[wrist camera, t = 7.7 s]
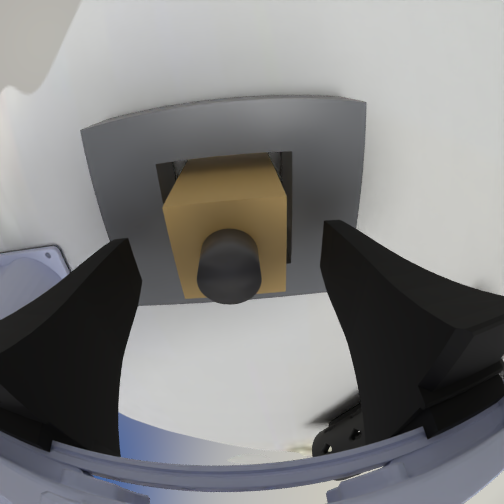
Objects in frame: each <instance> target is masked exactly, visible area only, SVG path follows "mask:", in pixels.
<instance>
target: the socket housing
mask: <svg viewBox="0 0 504 504" xmlns="http://www.w3.org/2000/svg"><path fill="white" fill-rule="evenodd" d="M365 130H366V102H363V101H359V100H354V99H350V98H345V97H335V96H312V95H274V96H250V97H236V98H224V99H214V100H205V101H197V102H190V103H183V104H177V105H171V106H165V107H160V108H154V109H149V110H144V111H140V112H135V113H131V114H127V115H122V116H118V117H114V118H110V119H107V120H104V121H102V122H99V123H97V124H94V125H92V126H89V127H87V128H85V129H82V130H80V131H81V136H82V141H83V146H84V151H85V155H86V159H87V164H88V168H89V172H90V176H91V180H92V184H93V187H94V191H95V195H96V198H97V202H98V205H99V208H100V212H101V215H102V218H103V221H104V225H105V228H106V231H107V234H108V237H109V240H110V242H111V241H112V240H114V239H122V238H128V239H129V242H130V245H131V249H132V252H133V255H134V258H135V261H136V264H137V267H138V269H139V272H140V275H141V278H142V287H141V293H140V299H139V304H138V306H143V305H169V304H189V303H206V302H214V301H212V300H210V299H209V298H191V299H185V297H184V293H183V290H182V286H181V282H180V279H179V275H178V271H177V267H176V263H175V260H174V256H173V252H172V248H171V243H170V239H169V235H168V231H167V226H166V222H165V218H164V213H163V208H162V207H163V205H164V203H165V201H166V199H167V197H168V195H169V193H170V192H171V190H172V188H173V186H174V184H175V182H176V180H175V174H174V168H173V161H181V160H188V159H197V158H205V157H215V156H225V155H236V154H249V153H265V152H281V161H282V187H283V189H284V191H285V194H286V196H287V249H286V291H285V292H274V293H262V294H255V295H254V296H253V297H252V298H250V299H261V298H272V297H283V296H293V295H303V294H312V293H321V292H327V290H326V288H325V284H324V281H323V277H322V273H321V269H320V259H321V248H322V237H323V225H324V221H325V220H342V221H344V222H345V223H347V224H349V225H351V226H352V227H354V228H355V229H356V225H357V217H358V210H359V202H360V193H361V183H362V173H363V161H364V147H365Z"/></svg>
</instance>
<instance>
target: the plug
mask: <svg viewBox="0 0 504 504" xmlns="http://www.w3.org/2000/svg"><path fill="white" fill-rule="evenodd" d="M162 208H163V213H164V218H165V222H166V226H167V231H168V235H169V239H170V243H171V248H172V252H173V256H174V260H175V263H176V267H177V271H178V275H179V279H180V282H181V286H182V290H183V293H184V297H185V299H191V298H209V299H210V300H212V301H214V302H217V303H221V304H238V303H242V302H245V301H247V300H249V299H250V298H252V297H253V296H254V295H255V294H262V293H274V292H285V291H286V249H287V196H286V194H285V191H284V189H283V187H282V184H281V182H280V180H279V177H278V175H277V173H276V171H275V168H274V166H273V164H272V162H271V159H270V157H269V155H268V153H267V152H265V153H249V154H236V155H225V156H215V157H205V158H197V159H188V161H187V163H186V164H185V166H184V168H183V170H182V171H181V173H180V175H179V177H178V179H177V180H176V182H175V184H174V186H173V188H172V190H171V192H170V193H169V195H168V197H167V199H166V201H165V203H164V205H163V207H162Z"/></svg>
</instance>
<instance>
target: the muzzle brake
mask: <svg viewBox="0 0 504 504" xmlns="http://www.w3.org/2000/svg"><path fill="white" fill-rule="evenodd" d="M499 361H500V363H501V364H502V366H503V370H502V372H501V373H499V375H500V376H501V378H502V380H503V379H504V355H503V356H502V357H501V359H500V360H499ZM358 431H360V432H358ZM365 445H366V443H365V431H364V422H363V414H362V407H361V403H360V404H358V405H357V406H355V407H354V408H352V409H351V410H349V411H348V412H346V413H344V414H343V415H341V416H340V417H338V418H336V419H335V420H333V421H331V422H330V423H329V427H328V428H326V429H324V430H323V431H321V432H320V433H319V434H318V435H317V436H316V437H315V439H314V442H313V445H312V456H313V457H318V456H323V455H328V454H333V453H337V452H342V451H346V450H350V449H354V448H358V447H362V446H365ZM330 446H331V447H332V451H331V452H328V449H329V447H330ZM359 474H361V473H359ZM359 474H355V475H352V476H348V477H344V478H339V479H335V480H336V481H339V480H345V479H348V478H351V477H353V476H356V475H359Z"/></svg>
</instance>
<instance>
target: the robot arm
mask: <svg viewBox="0 0 504 504" xmlns="http://www.w3.org/2000/svg"><path fill="white" fill-rule="evenodd" d="M320 269H321V273H322V277H323V281H324V284H325V288H326V290H327V293H328V295H329V298H330V300H331V303H332V305H333V307H334V310H335V312H336V315H337V317H338V319H339V322H340V324H341V327H342V329H343V332H344V334H345V337H346V340H347V343H348V346H349V350H350V354H351V358H352V362H353V366H354V370H355V375H356V379H357V384H358V389H359V395H360V401H361V407H362V414H363V422H364V431H365V443H366V445H365V446H362V447H358V448H354V449H350V450H346V451H342V452H337V453H333V454H328V455H323V456H318V457H312V458H306V459H300V460H293V461H285V462H276V463H266V464H253V465H232V466H200V465H180V464H179V465H178V464H166V463H156V462H148V461H141V460H134V459H128V458H121V455H120V447H119V431H118V401H119V386H120V376H121V368H122V361H123V356H124V352H125V348H126V344H127V341H128V337H129V334H130V330H131V327H132V324H133V321H134V317H135V314H136V310H137V307H138V304H139V299H140V293H141V287H142V278H141V275H140V272H139V269H138V267H137V264H136V261H135V258H134V255H133V252H132V249H131V245H130V242H129V239H128V238H122V239H114V240H112V241H111V242H109V243H107V244H106V245H105V246H103V247H102V248H101V249H99V250H98V251H97V252H95V253H94V254H93V255H92V256H90V257H89V258H88V259H87V260H86V261H84V262H83V263H82V264H81V265H79V266H78V267H77V268H76V269H75V270H73V271H72V272H71V273H70V272H69V270H68V268H67V266H66V263H65V261H64V259H63V257H62V254H61V252H60V250H59V249H58V248H57V247H55V246H49V247H42V248H35V249H28V250H21V251H14V252H7V253H1V254H0V504H150V498H149V497H148V496H147V495H143V494H139V493H136V492H133V491H130V490H127V489H124V488H122V487H120V486H118V485H116V484H113V483H109V482H106V481H102V480H99V479H96V478H94V477H93V476H92V475H96V476H100V477H103V478H108V479H112V480H116V481H121V482H126V483H131V484H136V485H143V486H149V487H156V488H164V489H173V490H185V491H202V492H243V491H260V490H272V489H282V488H290V487H297V486H303V485H310V484H315V483H320V482H326V481H330V480H335V479H339V478H344V477H348V476H352V475H355V474H359V473H363V472H366V471H369V470H373V469H376V468H379V467H382V466H383V467H382V468H380V469H378V470H375V471H372V472H369V473H367V474H364V475H361V476H358V477H355V478H352V479H349V480H346V481H342V482H341V483H340V485H339V486H338V487H336V488H334V489H331V490H329V491H327V493H326V496H327V501H328V503H327V504H464V503H465V502H466V501H468V500H469V499H470V498H472V497H473V496H474V495H476V494H477V493H478V492H479V491H480V490H482V489H483V488H484V487H485V486H487V485H488V484H489V483H490V482H491V481H492V480H493V479H495V478H496V477H497V476H498V475H499V474H500V473H501V472H502V471H503V470H504V379H503V380H502V378H501V376H500V375H499V373H501V372H502V370H503V366H502V364H501V363H500V361H499V360H500V359H501V357H502V356H503V355H504V296H501V295H497V294H493V293H489V292H485V291H481V290H478V289H475V288H472V287H468V286H465V285H462V284H460V283H457V282H454V281H451V280H449V279H447V278H444V277H442V276H439V275H437V274H435V273H432V272H430V271H428V270H426V269H424V268H422V267H420V266H418V265H416V264H414V263H412V262H410V261H408V260H406V259H404V258H402V257H401V256H399V255H397V254H396V253H394V252H392V251H390V250H389V249H387V248H385V247H384V246H382V245H381V244H379V243H377V242H376V241H374V240H373V239H371V238H369V237H368V236H366V235H365V234H363V233H362V232H360V231H359V230H357V229H355V228H354V227H352V226H351V225H349V224H347V223H345V222H344V221H342V220H325V221H324V225H323V237H322V248H321V259H320ZM91 474H92V475H91Z"/></svg>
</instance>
